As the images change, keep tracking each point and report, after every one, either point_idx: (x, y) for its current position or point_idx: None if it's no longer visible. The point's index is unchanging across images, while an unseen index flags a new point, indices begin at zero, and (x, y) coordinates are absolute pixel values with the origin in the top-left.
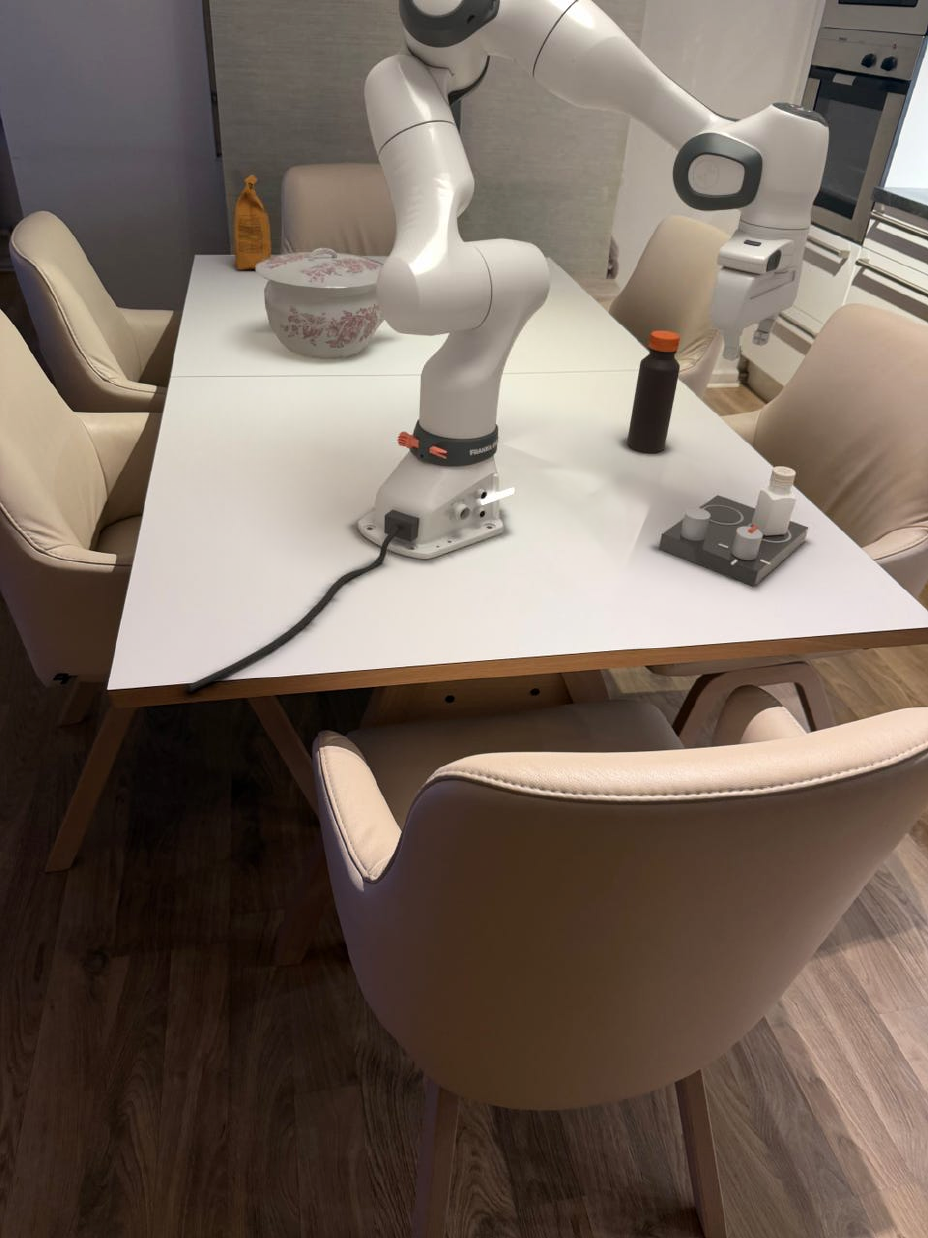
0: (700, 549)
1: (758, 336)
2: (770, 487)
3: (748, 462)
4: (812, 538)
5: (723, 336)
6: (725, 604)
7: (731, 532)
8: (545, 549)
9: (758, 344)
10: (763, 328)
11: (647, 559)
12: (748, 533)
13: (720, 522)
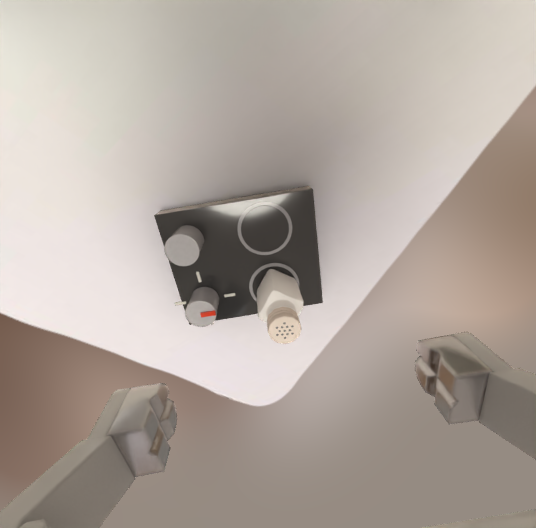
0: (170, 265)
1: (438, 380)
2: (269, 309)
3: (490, 119)
4: (333, 293)
5: (14, 500)
6: (142, 317)
7: (235, 262)
8: (10, 117)
9: (418, 360)
10: (500, 405)
11: (129, 218)
12: (197, 315)
13: (244, 241)
